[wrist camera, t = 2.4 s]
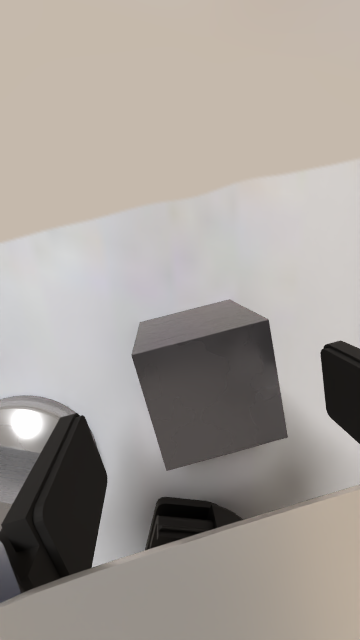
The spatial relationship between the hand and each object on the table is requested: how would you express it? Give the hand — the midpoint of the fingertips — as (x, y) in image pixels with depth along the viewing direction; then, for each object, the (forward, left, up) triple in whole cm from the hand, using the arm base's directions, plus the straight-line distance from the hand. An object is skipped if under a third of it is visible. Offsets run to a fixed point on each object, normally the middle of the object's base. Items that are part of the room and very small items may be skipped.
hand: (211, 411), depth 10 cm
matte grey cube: (-1, 0, -8) cm, 8 cm away
